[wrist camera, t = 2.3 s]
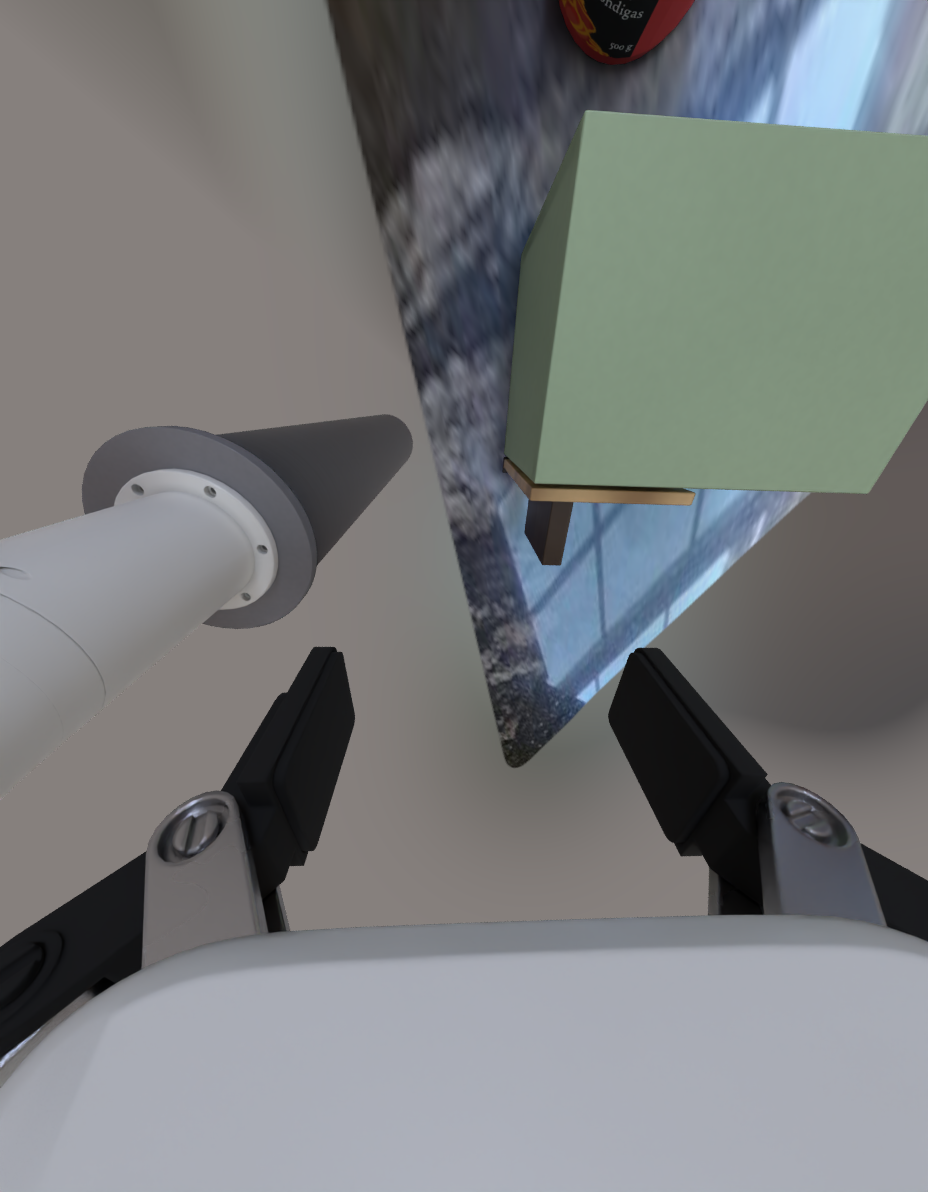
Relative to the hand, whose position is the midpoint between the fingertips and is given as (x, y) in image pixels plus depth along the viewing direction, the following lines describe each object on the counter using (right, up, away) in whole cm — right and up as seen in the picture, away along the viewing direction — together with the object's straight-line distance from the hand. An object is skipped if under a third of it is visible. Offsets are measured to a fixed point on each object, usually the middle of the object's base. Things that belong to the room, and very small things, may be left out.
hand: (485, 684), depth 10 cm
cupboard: (+12, +19, +14) cm, 27 cm away
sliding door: (+7, +12, +18) cm, 23 cm away
